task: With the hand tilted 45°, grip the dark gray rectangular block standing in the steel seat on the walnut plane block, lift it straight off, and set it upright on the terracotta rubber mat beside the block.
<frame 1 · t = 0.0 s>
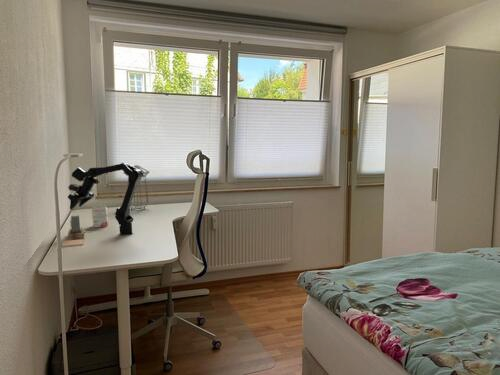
hand: (75, 207, 221), 15 cm above the table, tool tilted 35°, fingers open, 9 cm apart
dark gray rectangular block: (76, 231, 212), point 3 cm above the table, touching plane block
rubber mat: (73, 243, 199), on the table
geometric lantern: (138, 209, 292), on the table
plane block: (76, 236, 212), on the table
ink cartridge box: (100, 226, 238), on the table
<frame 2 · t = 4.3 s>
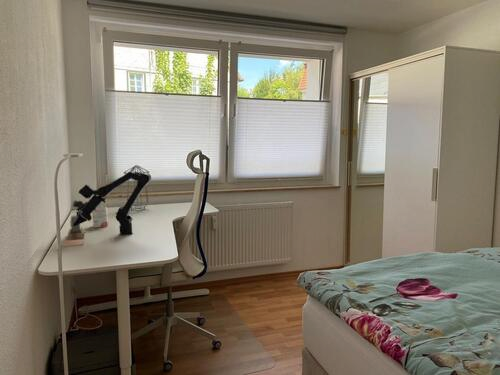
hand: (72, 225, 210), 7 cm above the table, tool tilted 45°, fingers closed on dark gray rectangular block, 4 cm apart
dark gray rectangular block: (76, 231, 212), point 3 cm above the table, touching gripper, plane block
everything else where it was.
when the fingers open (6 cm above the table, at t = 9.5 s): dark gray rectangular block drops 2 cm, resting on rubber mat.
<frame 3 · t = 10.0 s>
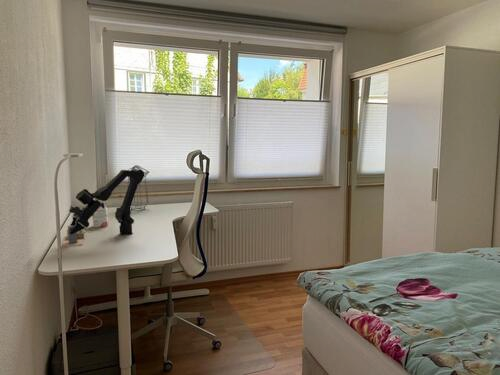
hand: (69, 232, 197), 7 cm above the table, tool tilted 45°, fingers open, 9 cm apart
dark gray rectangular block: (73, 242, 199), point 1 cm above the table, touching rubber mat
everything else where it was.
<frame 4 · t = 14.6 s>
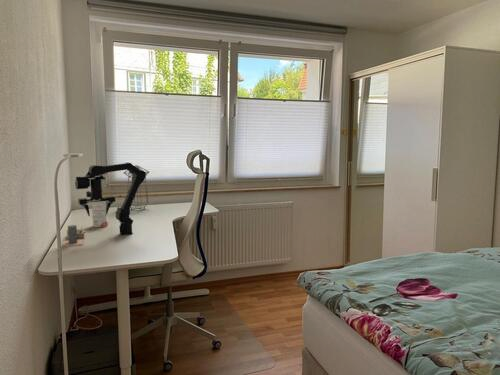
hand: (97, 215, 208), 13 cm above the table, tool pointing down, fingers open, 9 cm apart
nothing on the table moved.
at the end: dark gray rectangular block inside the target area (0.1 cm from its centre), point 0.6 cm above the table; dark gray rectangular block tilted 0°; the gripper is holding nothing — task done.
